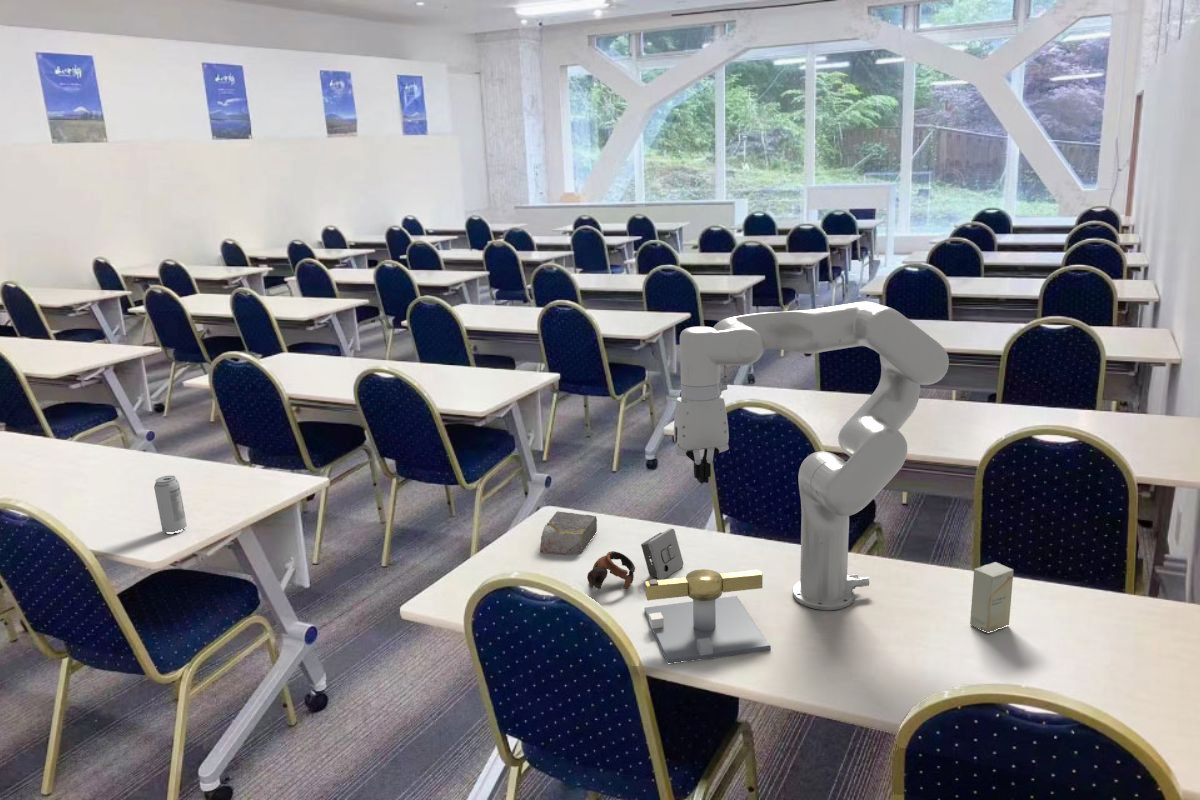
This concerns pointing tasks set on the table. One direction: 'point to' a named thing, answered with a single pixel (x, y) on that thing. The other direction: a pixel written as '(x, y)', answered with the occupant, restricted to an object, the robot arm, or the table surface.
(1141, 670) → the table surface
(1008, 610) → the skincare box
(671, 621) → the lock base
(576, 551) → the geological specimen
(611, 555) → the brown headphones
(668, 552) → the electrical switch
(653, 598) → the handle
